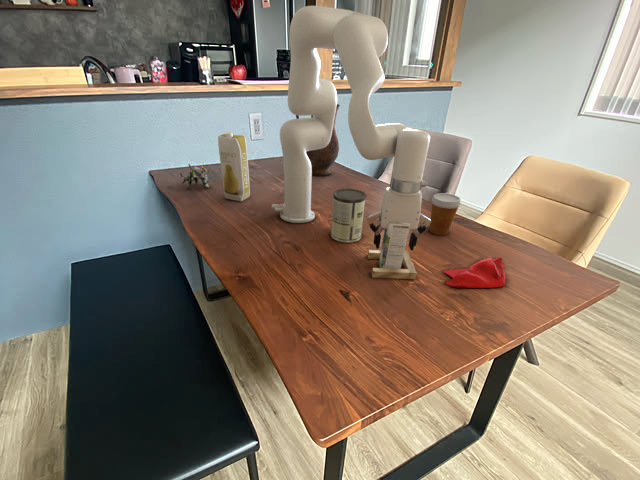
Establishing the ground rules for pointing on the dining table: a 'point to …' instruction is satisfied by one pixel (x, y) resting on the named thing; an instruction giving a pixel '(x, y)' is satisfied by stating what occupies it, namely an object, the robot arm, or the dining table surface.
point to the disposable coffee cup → (443, 212)
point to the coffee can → (347, 215)
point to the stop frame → (404, 273)
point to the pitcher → (324, 154)
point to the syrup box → (393, 245)
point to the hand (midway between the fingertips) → (393, 247)
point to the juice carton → (234, 166)
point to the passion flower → (197, 176)
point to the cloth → (479, 275)
